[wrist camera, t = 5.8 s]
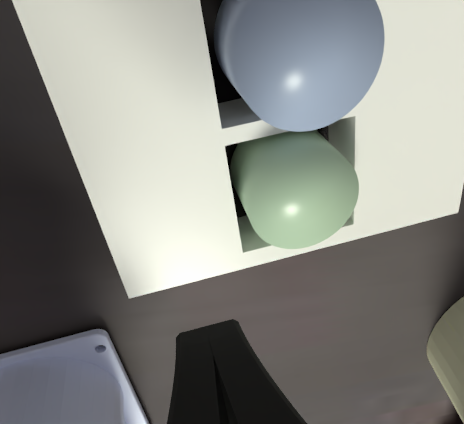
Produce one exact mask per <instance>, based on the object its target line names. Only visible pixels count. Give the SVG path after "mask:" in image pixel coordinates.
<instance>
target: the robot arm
mask: <svg viewBox="0 0 464 424" xmlns="http://www.w3.org/2000/svg"><path fill="white" fill-rule="evenodd" d="M98 345H103V346H98ZM0 424H149V422H148V420H147V417H146V415H145V413H144V411H143V409H142V407H141V404H140V402H139V400H138V398H137V396H136V394H135V391H134V389H133V387H132V385H131V383H130V380H129V378H128V376H127V374H126V372H125V370H124V367H123V365H122V363H121V361H120V359H119V357H118V354H117V352H116V350H115V348H114V346H113V343H112V341H111V339H110V337H109V335H108V333H107V332H106V331H105V330H103V329H93V330H90V331H86V332H82V333H78V334H75V335H71V336H67V337H63V338H60V339H56V340H52V341H48V342H45V343H41V344H37V345H33V346H30V347H26V348H22V349H18V350H15V351H11V352H7V353H3V354H0ZM167 424H307V423H306V422H305V421H304V419H303V418H302V417H301V416H300V414H299V413H298V412H297V411H296V409H295V408H294V407H293V406H292V404H291V403H290V402H289V401H288V399H287V398H286V397H285V395H284V394H283V393H282V391H281V390H280V389H279V387H278V386H277V385H276V383H275V382H274V381H273V379H272V378H271V376H270V375H269V373H268V372H267V371H266V369H265V368H264V366H263V365H262V363H261V362H260V360H259V359H258V357H257V356H256V354H255V352H254V351H253V349H252V347H251V346H250V344H249V342H248V341H247V339H246V337H245V335H244V333H243V331H242V329H241V327H240V325H239V322H238V321H236V320H233V319H232V320H228V321H224V322H220V323H217V324H213V325H209V326H205V327H201V328H198V329H194V330H190V331H186V332H182V333H180V334H179V335H178V336H177V337H176V363H175V374H174V383H173V391H172V397H171V403H170V409H169V415H168V421H167Z"/></svg>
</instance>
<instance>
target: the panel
mask: <svg viewBox="0 0 464 424" xmlns="http://www.w3.org/2000/svg"><path fill="white" fill-rule="evenodd" d="M12 2H13V4H14V7H15V9H16V12H17V14H18V17H19V19H20V22H21V25H22V27H23V30H24V32H25V35H26V37H27V40H28V42H29V45H30V47H31V50H32V53H33V55H34V58H35V60H36V63H37V65H38V68H39V70H40V73H41V76H42V78H43V81H44V83H45V86H46V88H47V91H48V93H49V96H50V98H51V101H52V104H53V106H54V109H55V111H56V114H57V116H58V119H59V121H60V124H61V127H62V129H63V132H64V134H65V137H66V139H67V142H68V144H69V147H70V149H71V152H72V155H73V157H74V160H75V162H76V165H77V167H78V170H79V172H80V175H81V178H82V180H83V183H84V185H85V188H86V190H87V193H88V195H89V198H90V200H91V203H92V206H93V208H94V211H95V213H96V216H97V218H98V221H99V223H100V226H101V229H102V231H103V234H104V236H105V239H106V241H107V244H108V246H109V249H110V252H111V254H112V257H113V259H114V262H115V264H116V267H117V269H118V272H119V274H120V277H121V280H122V282H123V285H124V287H125V290H126V292H127V295H128V297H129V299H130V298H133V297H137V296H141V295H145V294H149V293H153V292H156V291H160V290H164V289H168V288H172V287H175V286H179V285H183V284H187V283H191V282H195V281H198V280H202V279H206V278H210V277H214V276H218V275H221V274H225V273H229V272H233V271H237V270H240V269H244V268H248V267H252V266H256V265H260V264H263V263H267V262H271V261H275V260H279V259H283V258H286V257H290V256H294V255H298V254H302V253H306V252H309V251H313V250H317V249H321V248H325V247H328V246H332V245H336V244H340V243H344V242H348V241H351V240H355V239H359V238H363V237H367V236H371V235H374V234H378V233H382V232H386V231H390V230H393V229H397V228H401V227H405V226H409V225H413V224H416V223H420V222H424V221H428V220H432V219H436V218H439V217H443V216H447V215H451V214H455V213H458V211H459V206H460V200H461V195H462V189H463V183H464V0H376V2H377V4H378V7H379V9H380V12H381V15H382V19H383V24H384V36H385V42H384V52H383V57H382V61H381V65H380V68H379V71H378V73H377V75H376V78H375V80H374V82H373V84H372V85H371V87H370V89H369V91H368V92H367V93H366V95H365V96H364V97H363V99H362V100H361V101H360V102H359V103H358V104H357V105H356V107H355V108H353V109H352V110H351V111H350V112H349V113H348V114H346V115H345V116H344V117H342V118H341V119H339V120H338V121H336V122H334V123H332V124H330V125H328V141H329V143H330V144H331V145H332V146H333V147H334V148H335V149H336V150H338V151H339V152H340V153H341V154H342V155H343V156H344V157H345V158H346V159H347V160H348V161H349V162H350V164H351V165H352V166H353V168H354V170H355V171H356V174H357V177H358V182H359V195H358V199H357V203H356V206H355V208H354V210H353V212H352V214H351V216H350V217H349V219H348V220H347V221H346V223H345V224H344V225H343V226H342V227H341V228H340V229H339V230H338V231H337V232H336V233H334V234H333V235H332V236H330V237H329V238H327V239H326V240H324V241H322V242H320V243H318V244H315V245H313V246H309V247H306V248H300V249H284V248H279V247H275V246H273V245H270V244H269V243H267V242H265V241H264V240H263V239H261V238H260V237H259V236H258V234H257V233H256V232H255V230H254V229H253V227H252V225H251V222H250V220H249V218H248V216H243V217H239V218H237V215H236V209H235V203H234V197H233V192H232V186H231V180H230V174H229V168H228V162H227V156H226V150H225V146H227V145H231V144H236V143H240V142H244V141H249V140H253V139H257V138H262V137H266V136H270V135H275V134H279V133H283V132H288V131H287V130H282V129H279V128H276V127H274V126H272V125H270V124H268V123H266V122H265V121H263V120H262V119H261V118H259V117H258V116H257V115H256V114H255V113H254V112H253V111H252V110H251V108H250V107H249V106H248V105H247V103H246V102H245V101H244V99H243V98H240V99H236V100H231V101H227V102H222V103H217V97H216V92H215V86H214V80H213V74H212V68H211V62H210V56H209V50H208V45H207V39H206V33H205V27H204V21H203V15H202V9H201V3H200V0H12Z"/></svg>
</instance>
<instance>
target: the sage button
mask: <svg viewBox="0 0 464 424" xmlns="http://www.w3.org/2000/svg"><path fill="white" fill-rule="evenodd" d="M230 175H231V180H232V183H233V185H234V188H235V190H236V192H237V194H238V196H239V199H240V201H241V203H242V205H243V207H244V209H245V212H246V214H247V216H248V218H249V220H250V222H251V225H252V227H253V229H254V230H255V232H256V233H257V234H258V236H259V237H260V238H261V239H263V240H264V241H265V242H267V243H269V244H270V245H273V246H275V247H279V248H284V249H300V248H306V247H309V246H313V245H315V244H318V243H320V242H322V241H324V240H326V239H327V238H329V237H330V236H332V235H333V234H334V233H336V232H337V231H338V230H339V229H340V228H341V227H342V226H343V225H344V224H345V223H346V221H347V220H348V219H349V217H350V216H351V214H352V212H353V210H354V208H355V206H356V203H357V199H358V195H359V182H358V177H357V174H356V171H355V170H354V168H353V166H352V165H351V164H350V162H349V161H348V160H347V159H346V158H345V157H344V156H343V155H342V154H341V153H340V152H339V151H338V150H336V149H335V148H334V147H333V146H332V145H331V144H330V143H329V142H328V141H327V140H326V139H325V138H324V137H323V136H322V135H321V134H320V133H319V132H318V131H317V130H311V131H304V132H294V131H288V132H283V133H279V134H275V135H270V136H266V137H262V138H257V139H253V140H249V141H244V142H240V143H238V145H237V146H236V148H235V150H234V153H233V156H232V159H231V164H230Z"/></svg>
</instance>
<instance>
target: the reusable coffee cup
mask: <svg viewBox="0 0 464 424" xmlns="http://www.w3.org/2000/svg"><path fill="white" fill-rule="evenodd" d="M427 356H428V359H429V362H430V363H431V365H432V367H433V369H434V371H435V373H436V374H437V376H438V378H439V380H440V382H441V383H442V385H443V387H444V389H445V391H446V392H447V394H448V396H449V398H450V400H451V401H452V403H453V405H454V407H455V409H456V410H457V412H458V414H459V416H460V418H461V419H462V421H463V423H464V296H463V297H462V298H461V299H460V300H458V301H457V302H456V303H455V304H453V305H452V306H451V307H450V308H449V309H448V310H447V311H446V312H445V313H444V314H443V316H442V317H441V318H440V320H439V321H438V322H437V324H436V325H435V327H434V329H433V331H432V332H431V334H430V337H429V340H428V343H427Z"/></svg>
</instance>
